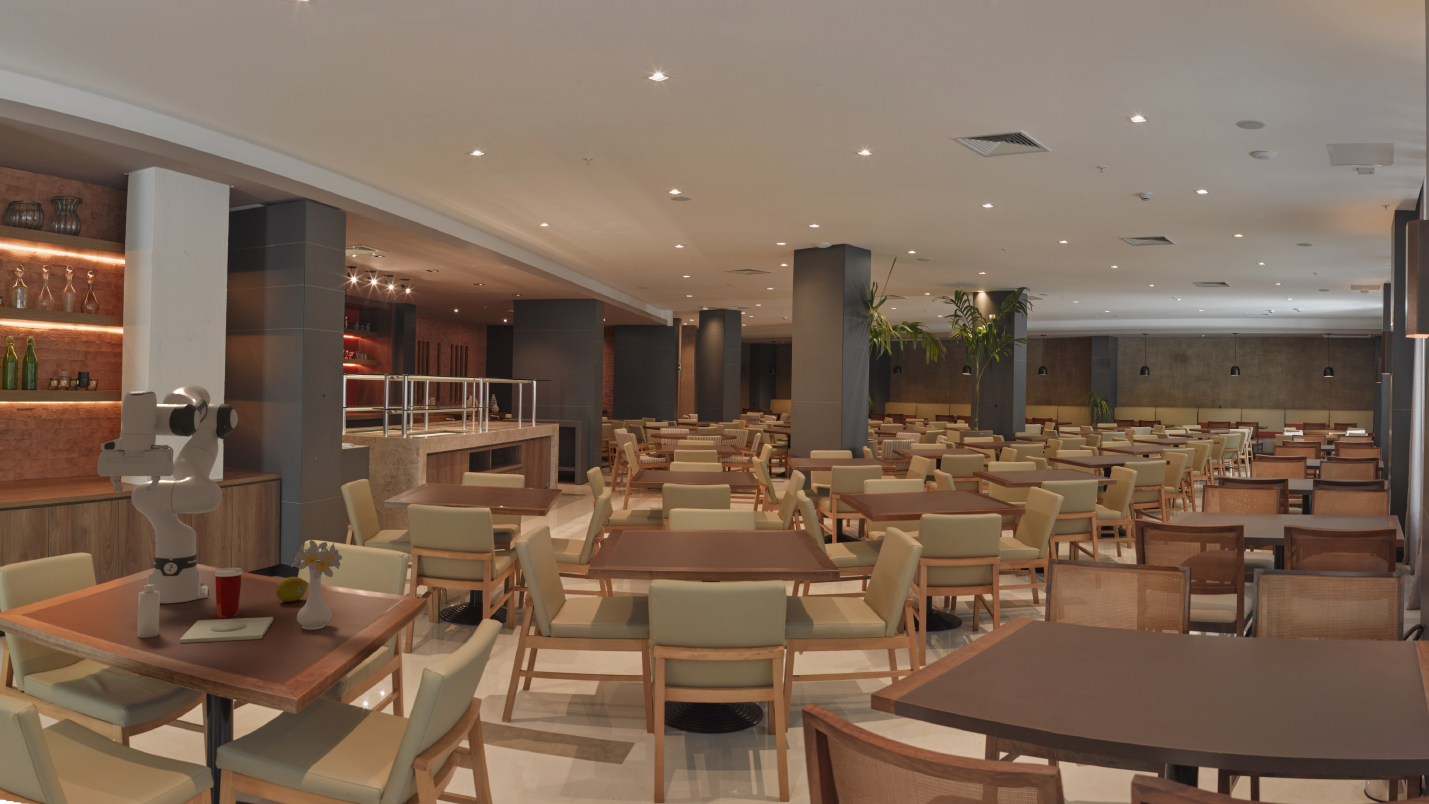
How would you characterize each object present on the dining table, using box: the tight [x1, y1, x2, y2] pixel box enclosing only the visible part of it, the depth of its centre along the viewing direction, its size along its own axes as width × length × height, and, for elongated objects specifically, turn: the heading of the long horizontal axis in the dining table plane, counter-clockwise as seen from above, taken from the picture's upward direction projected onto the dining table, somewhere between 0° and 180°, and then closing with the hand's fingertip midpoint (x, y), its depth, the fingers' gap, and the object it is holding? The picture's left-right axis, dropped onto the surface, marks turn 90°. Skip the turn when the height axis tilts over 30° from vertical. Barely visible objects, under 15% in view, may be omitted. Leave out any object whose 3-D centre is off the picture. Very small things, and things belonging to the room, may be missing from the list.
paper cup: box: [214, 567, 244, 618], centre depth 262 cm, size 8×8×14 cm
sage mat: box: [179, 616, 274, 644], centre depth 245 cm, size 20×20×1 cm
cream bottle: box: [136, 584, 161, 639], centre depth 239 cm, size 5×5×14 cm
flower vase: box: [290, 539, 343, 631], centre depth 252 cm, size 13×18×25 cm
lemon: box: [275, 576, 309, 603], centre depth 281 cm, size 11×8×8 cm
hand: (134, 492), depth 250 cm, fingers open, 8 cm apart
